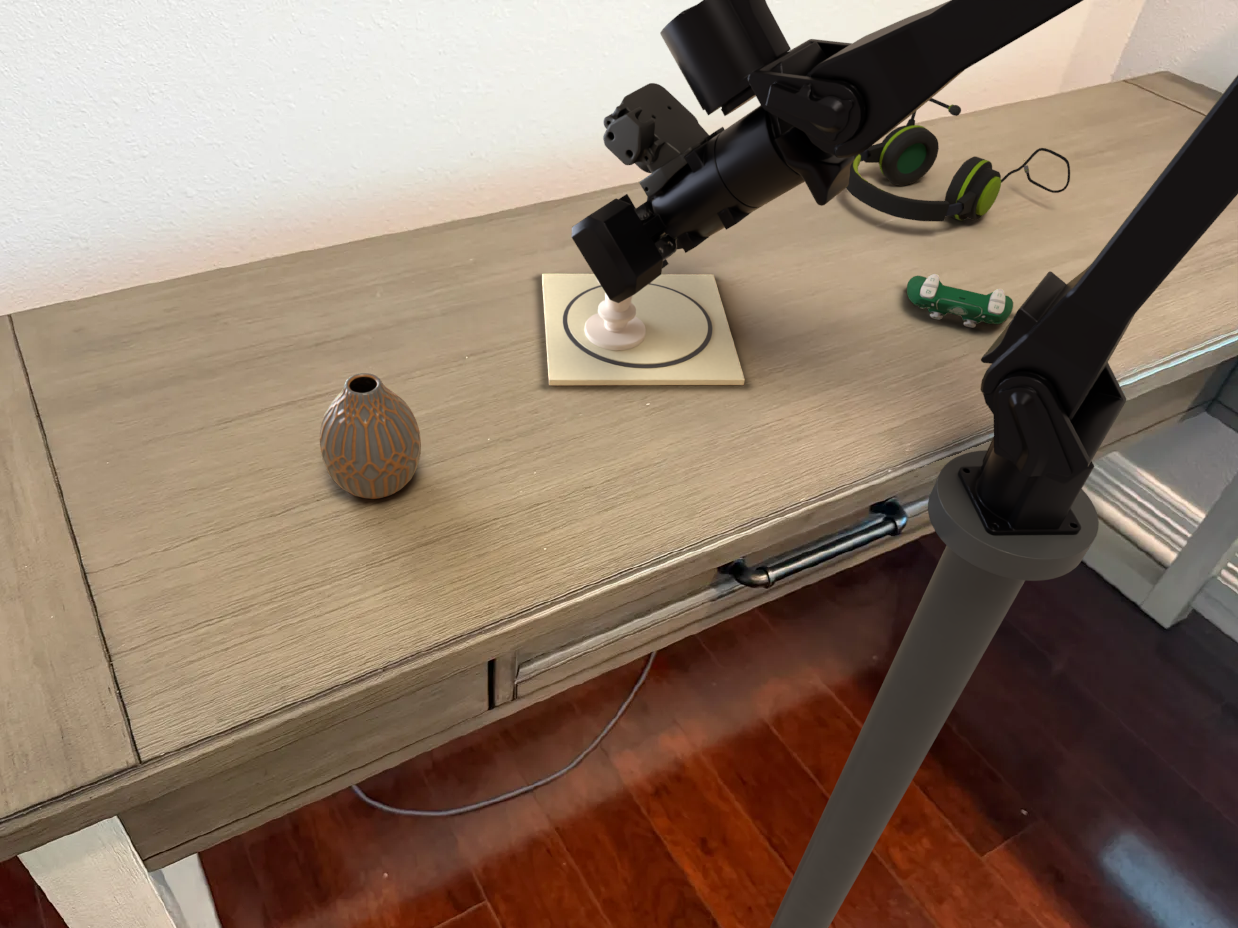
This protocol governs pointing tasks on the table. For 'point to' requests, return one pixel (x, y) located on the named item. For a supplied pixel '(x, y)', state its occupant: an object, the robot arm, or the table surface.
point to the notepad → (674, 340)
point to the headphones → (912, 158)
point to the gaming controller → (958, 301)
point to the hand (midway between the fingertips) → (602, 256)
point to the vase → (369, 439)
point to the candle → (615, 325)
